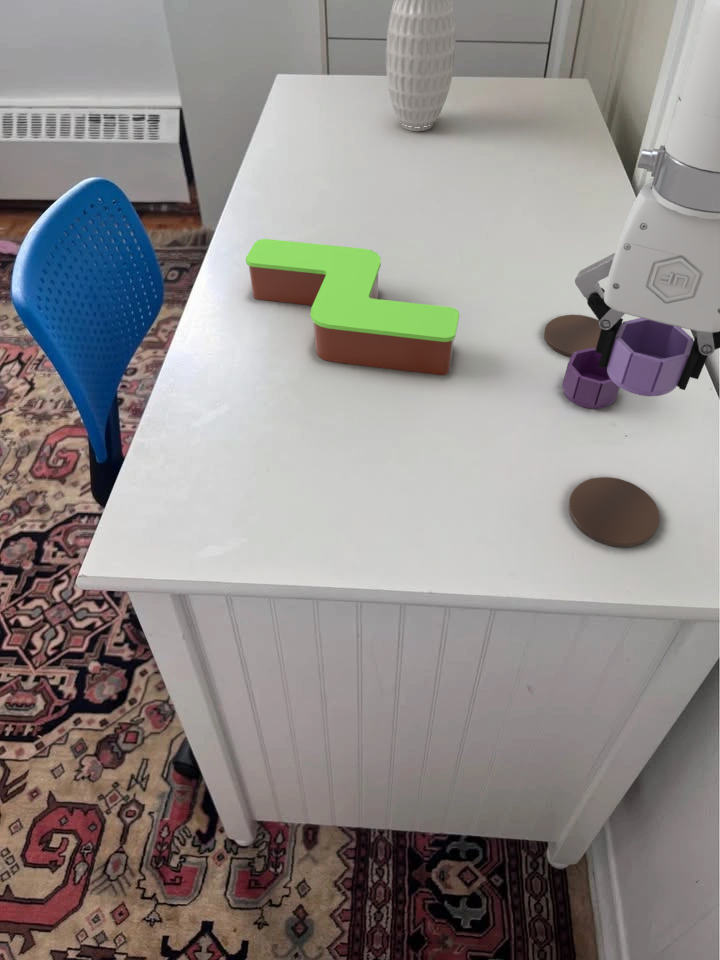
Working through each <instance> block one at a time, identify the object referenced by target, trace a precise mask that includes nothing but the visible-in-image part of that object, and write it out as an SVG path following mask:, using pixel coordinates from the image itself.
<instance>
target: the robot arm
mask: <svg viewBox="0 0 720 960" xmlns="http://www.w3.org/2000/svg"><path fill="white" fill-rule="evenodd" d="M699 18H700V19H699V21H698V25H697V28H696V32H695V35H694V40H693V43H692V45H691V49H690V53H689V56H688V60H687V64H686V67H685V71H684V75H683V78H682V81H681V85H680V88H679V91H678V95H677V99H676V103H675V107H674V109H673V112H672V113H673V114H672V116H671V120H670V124H669V128H668V131H667V135H666V138H665V141H664V145H662V144H661V145H660V146H659V148H653V149H647V148H643V149H642V150H641V153H640V155H639V159H638V162H637V168H638V169H643V170H646V172H650V173H651V174H650V177H651V178H650V179H649V180H646V182H645V183H644V185H643V186H642V187H641V188H640V190H639V192H638V194H637V196H636V198H635V200H634V202H633V205H631V206H632V207H631V209H630V211H629V213H628V216H627V218H626V221H625V224H624V225H623V229H622V232H621V235H620V238H619V241H618V244H617V247H616V250H615V252H613V253H611V254H609V255H608V256H606V257H604V258H602V259H600V260H598V261H596V262H594V263H592V264H591V265H588V266H587V267H585V268H582V269H580V270H579V272H578V273H577V275H576V277H575V278H574V283H575V285H576V287H577V288H578V290H579V291H580V293H581V294H582V296H583V297H584V298H585V299H586V300H587V301H586V303H587V304H586V305H588V307H589V309H590V310H591V311H592V313H593V314H594V315H595V317H596V319H597V320H599V326H600V328H601V332H600V336H599V339H598V343H597V347H596V350H595V352H596V353H600V354H602V355H601V358H600V362H599V366H598V367H601V368H604V367H607V364H608V361H609V357H610V354H611V350H612V347H613V344H614V340H615V337H616V335H617V332H618V330H619V328H620V326H621V323H623V322H624V318H622V317H624V315H628V316H632V317H636V318H644V319H648V320H652V321H656V322H660V323H664V324H668V325H672V326H677V327H681V328H682V329H685V330H689V331H695V333H696V336H695V337H694V338H693V341H694V343H693V346H692V349H691V352H690V355H689V358H688V360H687V363H686V365H685V368H684V370H683V373H682V376H681V378H680V381H679V383H678V386H677V387H676V388H679V390H682V391H686V388H687V386H688V384H689V381H690V379H695V380H698V379H699V378H700V376H701V373H702V371H703V368H704V366H705V365H706V364H705V363H706V361H707V360H708V359H707V358H708V357H709V356H712V355H713V354H714V352H715V351H716V350H719V349H720V0H705V3H704V6H703V9H702V11H701V14H700V17H699ZM605 278H606V283H605V287H604V288H603V287H601V286H600V283H599V282H600V281H601V280H604V279H605Z"/></svg>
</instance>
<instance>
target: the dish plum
mask: <svg viewBox="0 0 720 960" xmlns="http://www.w3.org/2000/svg"><path fill="white" fill-rule="evenodd" d="M595 350H596V348H594V349H593V348H588V349H584V350H580V351H575V352H574V353H573V354H572V356H571V357H569V360H568V362H567V364H566V365H567V366H566V369H565V373H564V377H563V381H562V383H561V387H562V391H563V394H564V396H565V397H566V398H567V399H568V400H569V401H570V402H572V403H573V404H575V405H577V406H579V407H582V408H584V409H585V408H586V409H592V410H595V409H597V410H598V409H604V408H607V407H610V406H611V405H612V404H613V403H615V401H616V400H617V398H618V395H619V392H620V390H621V388H620V387H618V386H617V385H616V384H615V383H614V382H613V381H612V380H611V379H610V377H609V375H608V373H607V367H604V368H601V367H598V366H599V362H600V358H601V355H602V354H600V353H596V352H595Z"/></svg>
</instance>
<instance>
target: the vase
mask: <svg viewBox="0 0 720 960" xmlns="http://www.w3.org/2000/svg"><path fill="white" fill-rule="evenodd" d="M454 10H455V9H454V6H453V0H393V3H392V6H391V9H390V14H389V19H388V25H387V31H386V44H385V69H386V70H385V71H386V74H385V75H386V81H387V88H388V92H389V94H388V95H389V98H390V101H391V105H392V107H393V111H394V113H395V115H396V117H397V119H398V121H399V123H400V122H401V123H402V124H401V123H400V125H401V127H402V128H403V129H404V130H407V131H410V132H425V131H428V130H430V129H431V128H433V126H434V124H435V123H436V122H437V120H438V118H439V117H440V115H441V112H442V110H443V107H444V105H445V104H446V101H447V98H448V95H449V92H450V88H451V84H452V79H453V75H454V74H453V73H454V66H455V57H456V41H457V40H456V39H457V37H456V36H457V33H456V18H455V12H454ZM434 122H435V123H434ZM433 123H434V124H433ZM403 124H404V125H403ZM405 125H407V126H405ZM429 125H430V126H429ZM408 126H412V127H408ZM424 126H427V127H424ZM415 127H420V128H415Z"/></svg>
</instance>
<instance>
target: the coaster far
mask: <svg viewBox="0 0 720 960" xmlns="http://www.w3.org/2000/svg"><path fill="white" fill-rule="evenodd" d="M600 332H601V328H600V326H599V320H598V318H595V317H591V316H588V315H582V314H565V315H559V316H557V317H555V318H553V319H551V320H549V321H548V323H547V324H546V325H545V328H544V331H543V337H544V341H545V342H546V344H547V345H548V346H549V348H551V349H552V350H553V351H555V352H556V353H559V354H560V355H563V356H565V357H569V358H571V356H572V354H573V353H574V352H575V351H580V350H584V349H588V348H593V349H594V348H596V347H597V343H598V339H599V336H600Z"/></svg>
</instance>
